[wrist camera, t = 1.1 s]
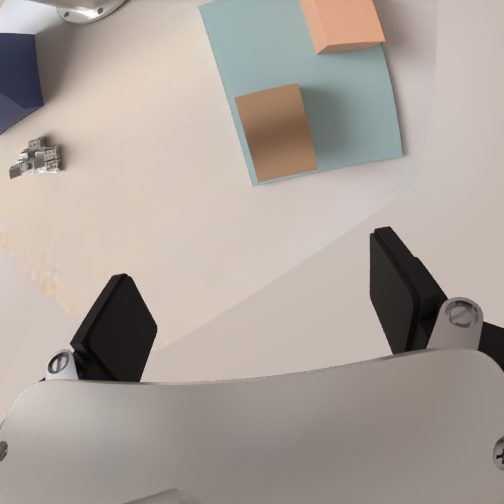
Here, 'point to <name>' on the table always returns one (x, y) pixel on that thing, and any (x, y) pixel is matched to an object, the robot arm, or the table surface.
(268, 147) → the walnut brick
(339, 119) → the board
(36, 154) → the miniature building cluster
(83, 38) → the table surface
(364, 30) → the terracotta brick
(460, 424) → the robot arm
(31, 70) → the blue angular block
